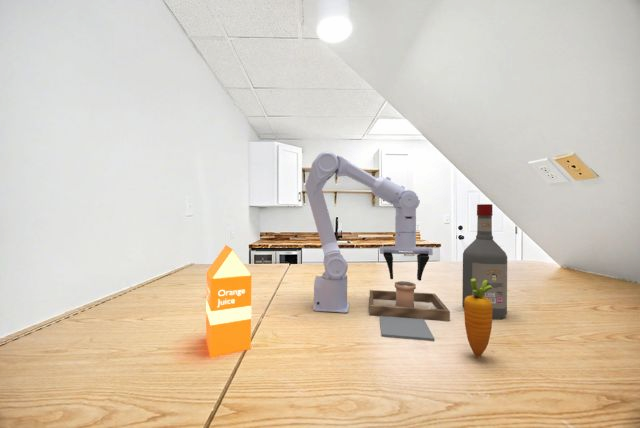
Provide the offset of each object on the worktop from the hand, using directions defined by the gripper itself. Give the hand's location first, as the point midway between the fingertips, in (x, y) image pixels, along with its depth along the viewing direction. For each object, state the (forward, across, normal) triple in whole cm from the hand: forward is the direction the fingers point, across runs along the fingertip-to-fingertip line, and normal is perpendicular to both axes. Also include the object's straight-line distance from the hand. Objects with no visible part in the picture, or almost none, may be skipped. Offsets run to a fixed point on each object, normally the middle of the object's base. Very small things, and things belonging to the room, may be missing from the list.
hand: (405, 279), depth 79 cm
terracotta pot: (+8, 0, 0) cm, 8 cm away
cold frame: (+8, 0, 0) cm, 8 cm away
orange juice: (+8, +39, +30) cm, 50 cm away
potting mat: (+8, +2, +15) cm, 17 cm away
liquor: (+9, -21, 0) cm, 23 cm away
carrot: (+8, -10, +26) cm, 29 cm away
